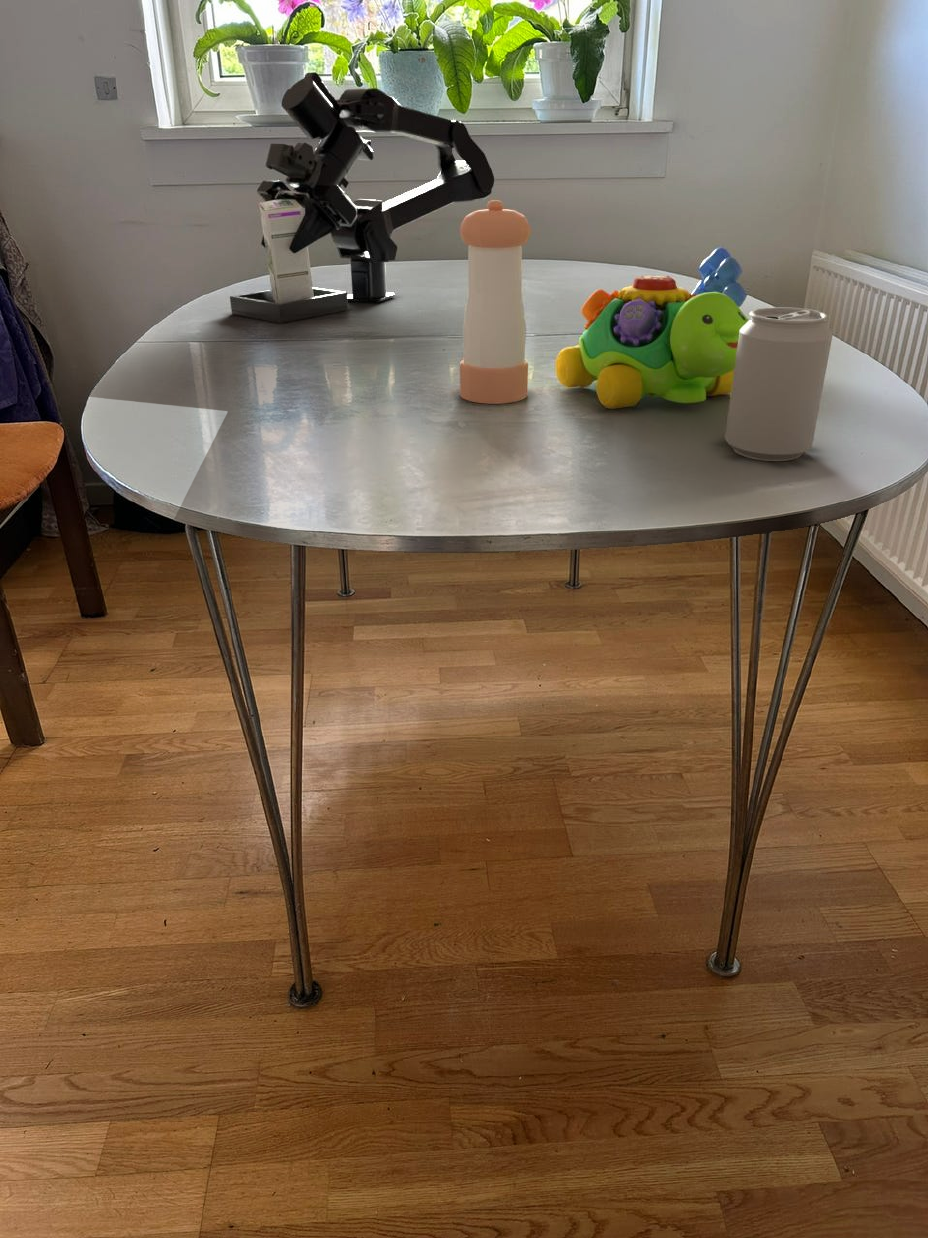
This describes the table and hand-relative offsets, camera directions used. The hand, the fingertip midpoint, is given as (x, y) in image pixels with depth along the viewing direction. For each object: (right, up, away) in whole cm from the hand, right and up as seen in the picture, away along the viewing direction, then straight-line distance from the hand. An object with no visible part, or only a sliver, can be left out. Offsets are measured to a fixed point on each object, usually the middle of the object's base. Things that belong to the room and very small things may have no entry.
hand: (277, 248), depth 137 cm
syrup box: (+1, -6, +6) cm, 9 cm away
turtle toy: (+49, -32, -39) cm, 70 cm away
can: (+55, -40, -55) cm, 88 cm away
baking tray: (+1, -8, +5) cm, 9 cm away
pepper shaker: (+31, -31, -38) cm, 58 cm away
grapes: (+59, -21, -19) cm, 65 cm away
